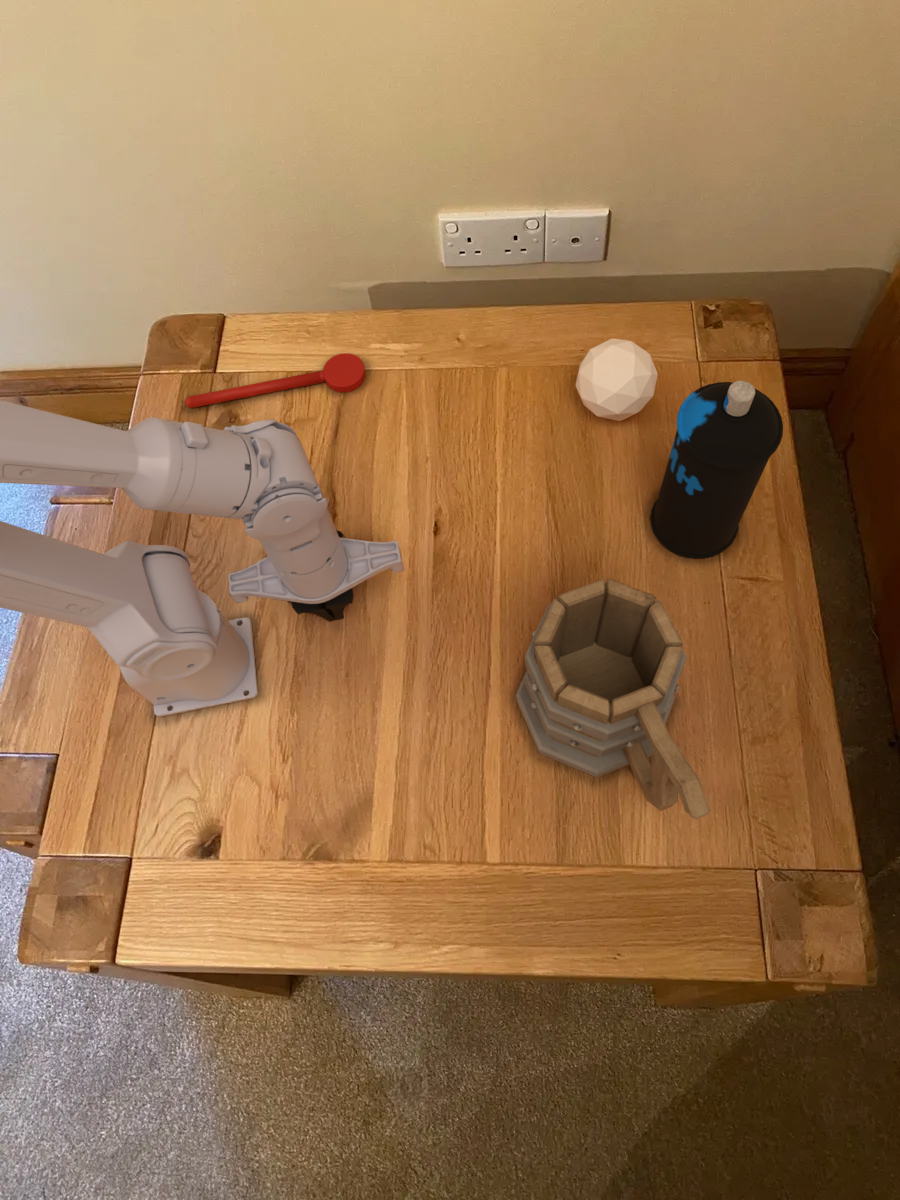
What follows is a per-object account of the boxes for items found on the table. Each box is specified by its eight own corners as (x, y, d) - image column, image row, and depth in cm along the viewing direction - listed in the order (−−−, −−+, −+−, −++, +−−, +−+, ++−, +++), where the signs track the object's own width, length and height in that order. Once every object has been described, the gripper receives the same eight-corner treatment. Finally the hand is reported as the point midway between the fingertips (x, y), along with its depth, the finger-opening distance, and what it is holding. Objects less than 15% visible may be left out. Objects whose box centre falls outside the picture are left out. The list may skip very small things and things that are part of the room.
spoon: (188, 423, 93) (184, 416, 92) (186, 390, 95) (182, 383, 94) (368, 388, 93) (366, 381, 92) (362, 355, 95) (360, 348, 94)
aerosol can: (736, 486, 86) (795, 348, 67) (739, 562, 82) (802, 439, 64) (650, 482, 86) (685, 345, 68) (649, 557, 83) (686, 434, 65)
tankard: (500, 663, 80) (496, 595, 66) (628, 614, 81) (651, 537, 67) (592, 878, 72) (609, 851, 58) (733, 821, 73) (783, 781, 59)
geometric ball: (628, 427, 92) (663, 425, 85) (557, 412, 90) (586, 408, 83) (642, 354, 91) (679, 344, 84) (571, 337, 89) (602, 326, 82)
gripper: (384, 482, 71) (405, 558, 84) (208, 516, 71) (254, 587, 84) (398, 558, 68) (417, 625, 81) (214, 594, 68) (261, 655, 81)
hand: (335, 610), depth 82 cm, fingers closed, pressing on tape measure
